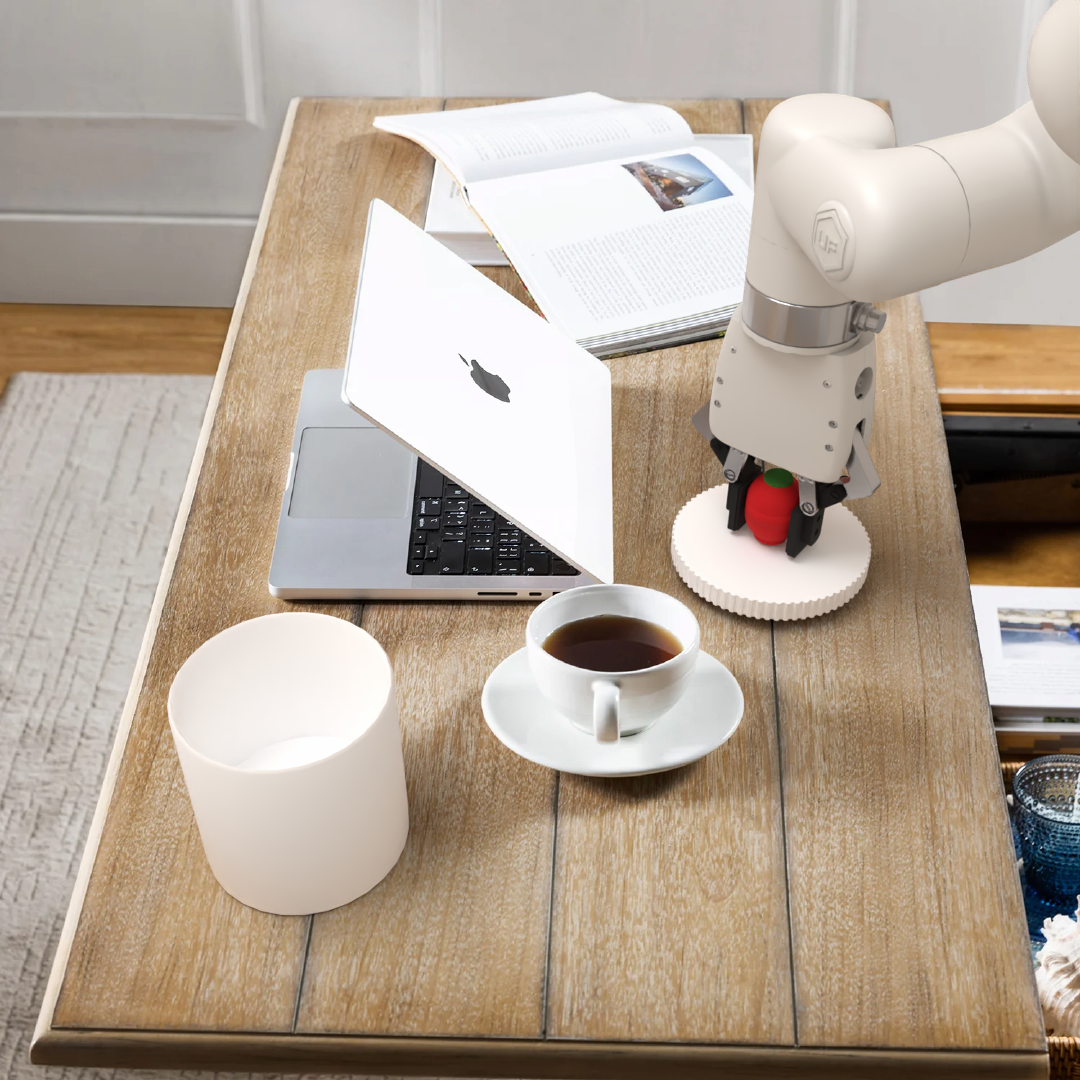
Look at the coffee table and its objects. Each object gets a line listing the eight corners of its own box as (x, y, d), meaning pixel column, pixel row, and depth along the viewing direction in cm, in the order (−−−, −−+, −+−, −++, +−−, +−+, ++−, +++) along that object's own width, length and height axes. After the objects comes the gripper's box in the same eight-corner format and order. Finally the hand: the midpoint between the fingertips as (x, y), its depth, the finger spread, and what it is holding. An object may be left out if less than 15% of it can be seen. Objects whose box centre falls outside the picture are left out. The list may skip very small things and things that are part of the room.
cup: (416, 753, 79) (402, 609, 71) (401, 916, 70) (383, 772, 62) (226, 754, 79) (192, 610, 71) (186, 917, 70) (142, 773, 62)
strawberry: (809, 531, 91) (818, 473, 88) (781, 560, 88) (790, 501, 85) (760, 510, 93) (768, 452, 89) (731, 538, 90) (738, 479, 87)
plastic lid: (676, 498, 99) (678, 472, 97) (861, 514, 97) (866, 488, 95) (662, 620, 88) (665, 593, 86) (870, 641, 86) (876, 613, 85)
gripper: (956, 321, 77) (903, 553, 89) (720, 244, 85) (699, 466, 97) (901, 374, 73) (852, 611, 84) (657, 287, 81) (643, 515, 92)
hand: (771, 531), depth 90 cm, fingers closed on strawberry, 4 cm apart
